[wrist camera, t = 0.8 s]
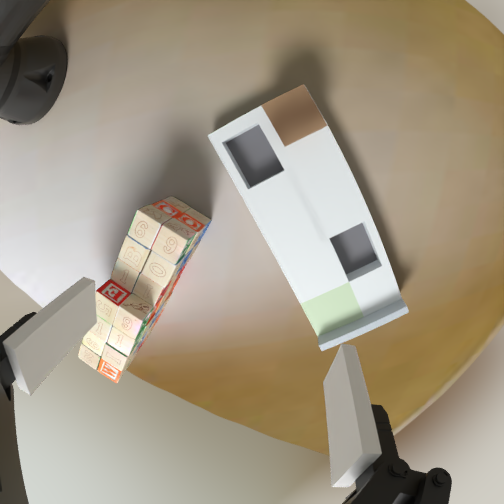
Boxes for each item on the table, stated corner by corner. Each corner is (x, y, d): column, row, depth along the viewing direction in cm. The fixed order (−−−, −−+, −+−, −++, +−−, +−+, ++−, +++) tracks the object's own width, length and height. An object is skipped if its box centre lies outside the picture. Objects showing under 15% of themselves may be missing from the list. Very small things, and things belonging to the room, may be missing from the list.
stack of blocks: (171, 193, 37) (122, 214, 25) (213, 219, 37) (179, 251, 26) (117, 313, 44) (76, 358, 32) (150, 334, 44) (115, 385, 33)
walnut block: (264, 111, 30) (260, 105, 26) (301, 92, 29) (303, 84, 25) (284, 147, 31) (284, 146, 27) (322, 128, 30) (327, 125, 26)
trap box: (212, 136, 34) (202, 134, 30) (303, 88, 31) (305, 80, 27) (319, 331, 41) (321, 351, 36) (398, 295, 38) (408, 312, 33)
